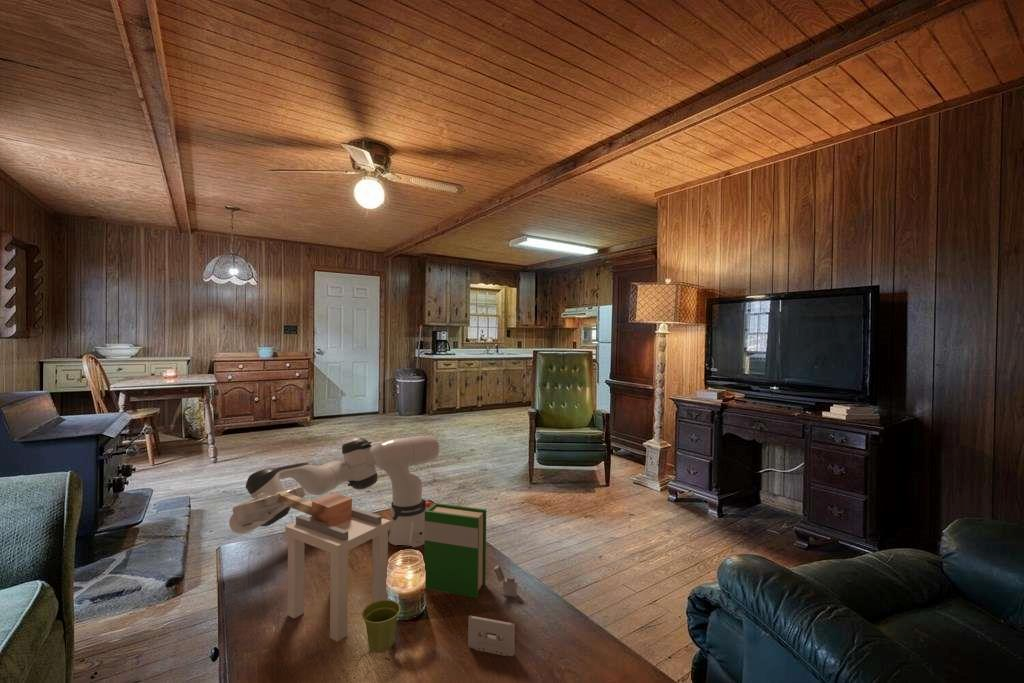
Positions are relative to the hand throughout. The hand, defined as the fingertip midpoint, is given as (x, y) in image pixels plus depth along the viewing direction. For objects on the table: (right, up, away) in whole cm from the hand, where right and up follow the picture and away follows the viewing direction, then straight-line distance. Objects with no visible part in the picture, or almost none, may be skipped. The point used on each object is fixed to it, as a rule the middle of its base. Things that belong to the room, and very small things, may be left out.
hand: (284, 494), depth 138 cm
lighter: (+69, -30, -3) cm, 75 cm away
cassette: (+66, -30, -27) cm, 77 cm away
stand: (+22, -29, -12) cm, 38 cm away
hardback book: (+53, -29, +1) cm, 61 cm away
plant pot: (+38, -29, -26) cm, 54 cm away
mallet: (+10, -3, -6) cm, 12 cm away
